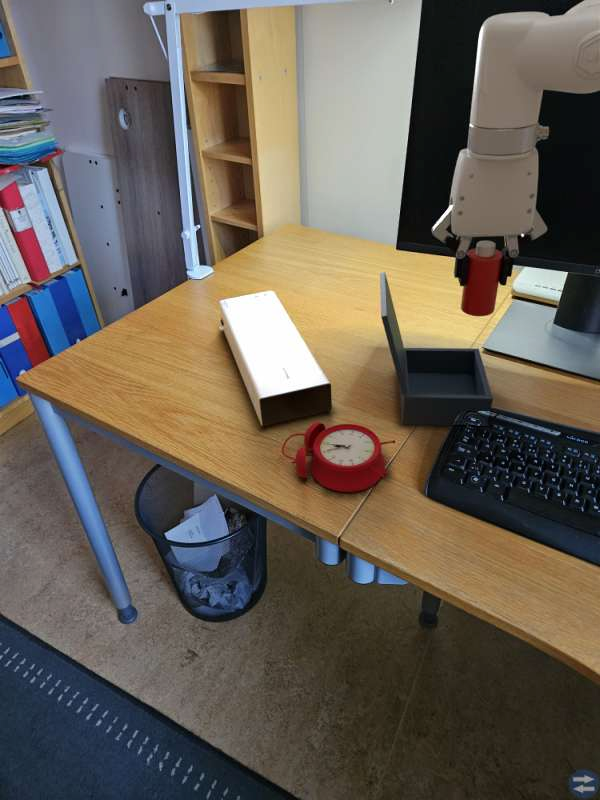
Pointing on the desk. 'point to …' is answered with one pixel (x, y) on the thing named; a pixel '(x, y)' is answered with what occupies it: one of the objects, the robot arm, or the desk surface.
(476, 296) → the ketchup bottle
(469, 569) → the desk surface
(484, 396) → the bin
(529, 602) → the desk surface
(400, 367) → the bin lid
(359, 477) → the alarm clock
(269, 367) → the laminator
